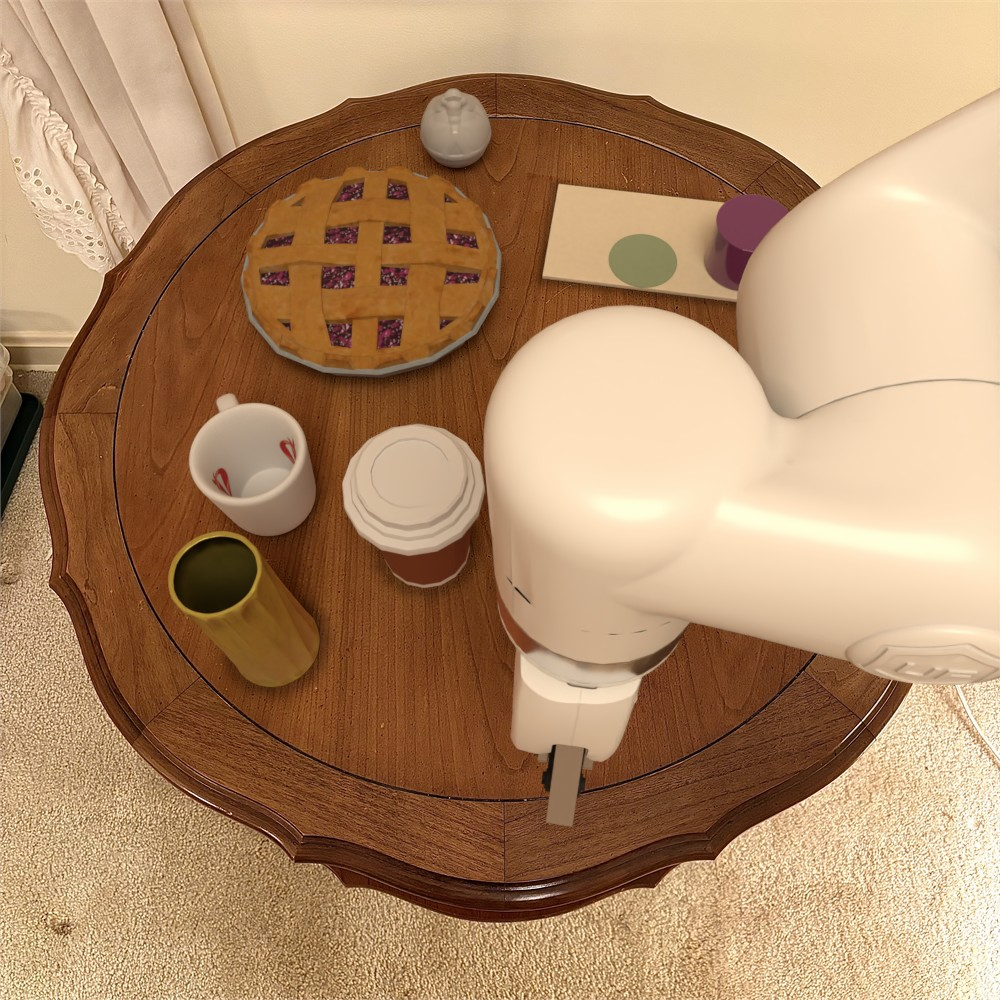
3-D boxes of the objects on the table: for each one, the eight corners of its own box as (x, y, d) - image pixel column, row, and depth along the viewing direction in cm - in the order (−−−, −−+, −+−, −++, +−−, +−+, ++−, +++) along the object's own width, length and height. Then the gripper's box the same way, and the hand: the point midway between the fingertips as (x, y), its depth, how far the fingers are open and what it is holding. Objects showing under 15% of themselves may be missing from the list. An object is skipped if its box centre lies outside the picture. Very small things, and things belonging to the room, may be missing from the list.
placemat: (775, 211, 77) (777, 207, 77) (773, 306, 72) (774, 303, 72) (558, 186, 79) (558, 182, 78) (542, 278, 74) (542, 274, 73)
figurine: (490, 128, 82) (488, 53, 75) (493, 181, 79) (492, 108, 72) (422, 131, 82) (414, 56, 75) (423, 184, 79) (415, 111, 72)
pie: (487, 186, 79) (486, 142, 74) (517, 382, 69) (518, 345, 65) (251, 208, 78) (235, 165, 73) (249, 410, 68) (230, 374, 64)
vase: (338, 645, 60) (291, 573, 47) (268, 706, 58) (201, 649, 45) (284, 587, 62) (226, 502, 49) (216, 644, 60) (136, 572, 47)
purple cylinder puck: (778, 239, 75) (795, 198, 71) (777, 295, 72) (794, 257, 68) (706, 230, 75) (718, 189, 71) (702, 286, 73) (714, 247, 68)
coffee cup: (371, 490, 65) (345, 407, 54) (490, 493, 65) (487, 410, 54) (359, 603, 61) (327, 538, 50) (485, 607, 61) (481, 542, 50)
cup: (197, 453, 66) (159, 398, 59) (292, 413, 68) (266, 355, 61) (244, 567, 62) (209, 523, 55) (343, 522, 64) (323, 472, 57)
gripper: (529, 375, 36) (528, 541, 52) (455, 804, 28) (480, 841, 44) (709, 396, 35) (651, 558, 51) (681, 842, 27) (623, 866, 44)
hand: (572, 689), depth 47 cm, fingers closed on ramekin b, 6 cm apart
